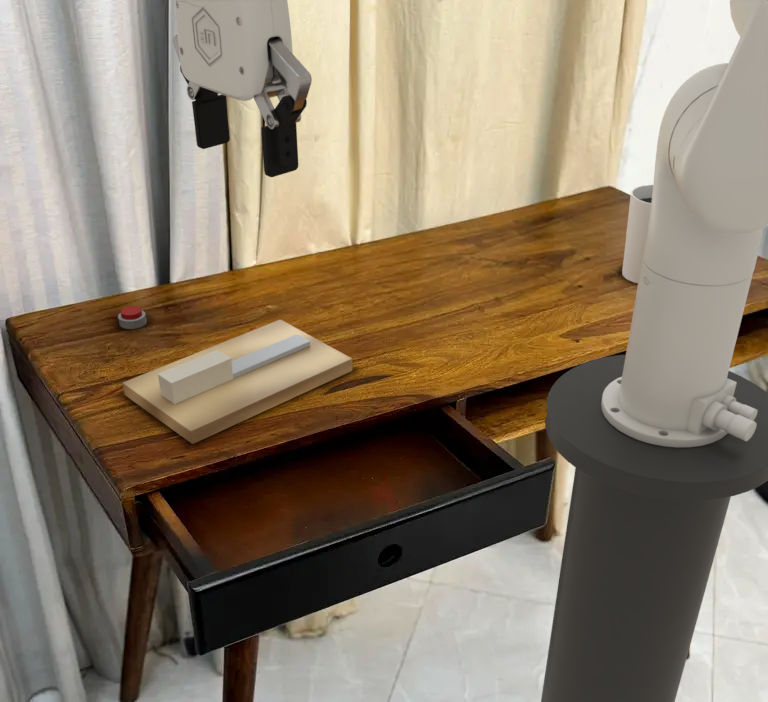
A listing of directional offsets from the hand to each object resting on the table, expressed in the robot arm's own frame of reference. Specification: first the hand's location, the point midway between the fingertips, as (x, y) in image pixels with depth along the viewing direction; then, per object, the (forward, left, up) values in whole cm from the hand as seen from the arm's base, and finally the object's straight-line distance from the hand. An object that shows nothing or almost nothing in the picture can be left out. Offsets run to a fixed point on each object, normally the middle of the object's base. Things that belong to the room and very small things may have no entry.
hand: (246, 158), depth 85 cm
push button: (+22, +2, -24) cm, 32 cm away
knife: (+3, +2, -22) cm, 22 cm away
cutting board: (+3, +1, -23) cm, 24 cm away
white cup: (-10, -51, -24) cm, 57 cm away
